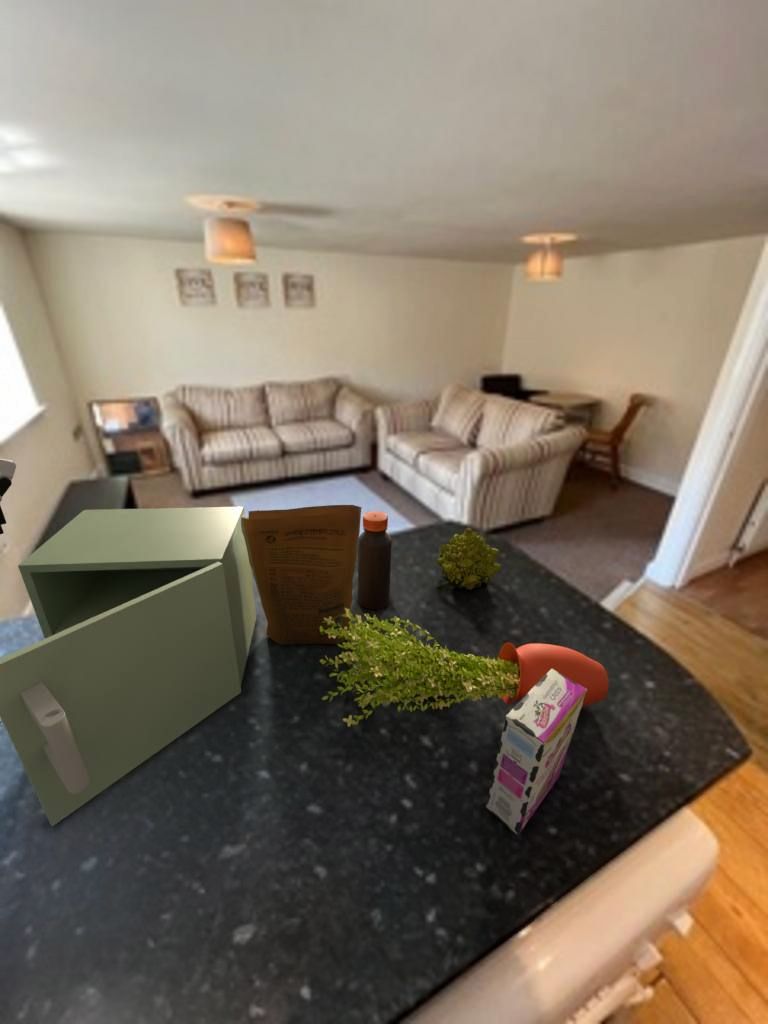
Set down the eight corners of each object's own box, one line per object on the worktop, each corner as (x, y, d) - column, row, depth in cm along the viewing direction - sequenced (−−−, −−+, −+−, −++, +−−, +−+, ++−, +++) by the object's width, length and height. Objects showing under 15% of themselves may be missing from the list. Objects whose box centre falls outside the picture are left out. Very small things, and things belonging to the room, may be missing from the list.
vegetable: (433, 590, 93) (449, 520, 94) (424, 587, 108) (438, 527, 110) (502, 607, 92) (517, 537, 94) (484, 602, 108) (497, 541, 110)
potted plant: (552, 672, 86) (316, 649, 81) (576, 611, 80) (325, 583, 75) (601, 764, 68) (304, 742, 63) (637, 694, 62) (314, 664, 58)
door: (269, 715, 68) (254, 582, 58) (75, 869, 49) (3, 711, 39) (237, 689, 72) (218, 561, 62) (49, 821, 53) (-23, 668, 43)
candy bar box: (519, 839, 53) (544, 745, 46) (484, 808, 56) (502, 715, 49) (562, 777, 60) (589, 687, 54) (529, 753, 64) (550, 665, 57)
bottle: (366, 614, 91) (368, 526, 83) (352, 596, 96) (352, 512, 88) (395, 604, 94) (399, 519, 86) (379, 588, 100) (381, 506, 91)
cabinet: (240, 687, 73) (221, 558, 63) (66, 699, 70) (17, 565, 60) (256, 618, 89) (243, 506, 79) (116, 624, 86) (84, 509, 76)
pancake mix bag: (360, 650, 82) (361, 511, 70) (254, 652, 80) (237, 511, 69) (360, 626, 88) (361, 494, 76) (262, 627, 87) (247, 494, 75)
